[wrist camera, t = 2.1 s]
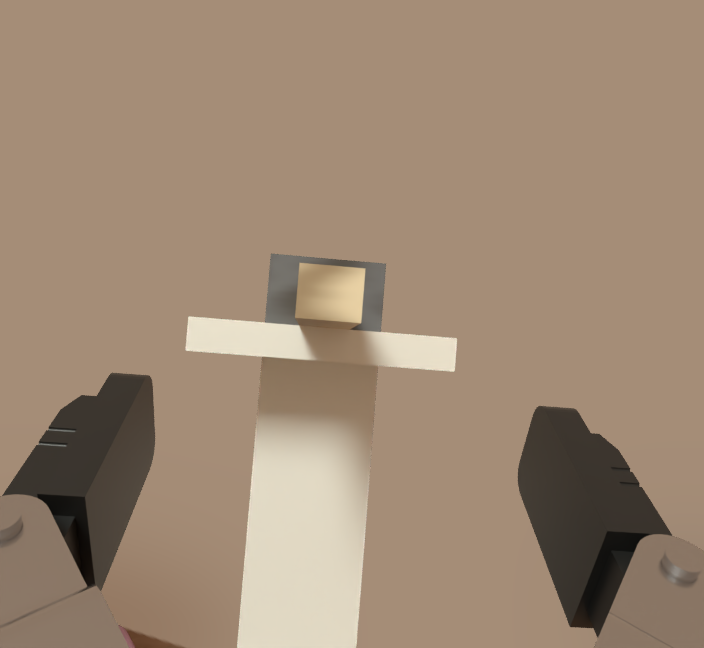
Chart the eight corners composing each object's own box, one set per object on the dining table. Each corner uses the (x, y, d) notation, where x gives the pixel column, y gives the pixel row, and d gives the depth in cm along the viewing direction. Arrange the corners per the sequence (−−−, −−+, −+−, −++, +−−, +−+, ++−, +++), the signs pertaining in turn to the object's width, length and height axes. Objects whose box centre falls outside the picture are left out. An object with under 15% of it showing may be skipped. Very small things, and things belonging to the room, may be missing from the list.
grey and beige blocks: (239, 313, 28) (248, 203, 28) (270, 328, 49) (276, 265, 49) (415, 327, 29) (423, 219, 29) (372, 337, 50) (377, 274, 50)
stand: (136, 881, 35) (188, 316, 37) (184, 738, 48) (220, 325, 50) (417, 889, 36) (456, 338, 38) (389, 747, 49) (420, 341, 51)
